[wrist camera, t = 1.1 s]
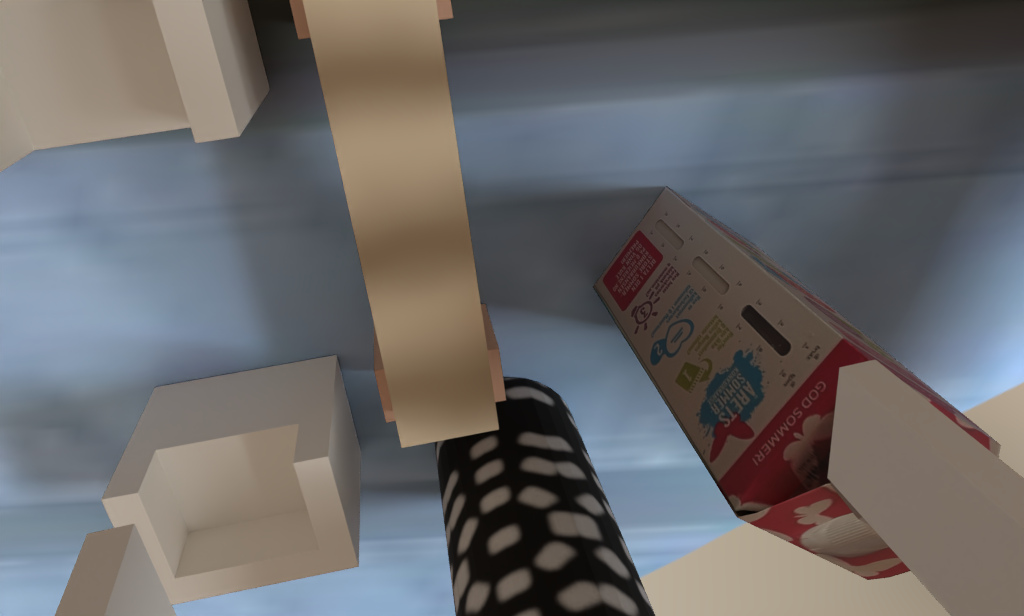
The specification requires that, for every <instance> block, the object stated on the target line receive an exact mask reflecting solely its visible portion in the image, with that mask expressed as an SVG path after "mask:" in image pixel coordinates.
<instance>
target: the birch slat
mask: <svg viewBox="0 0 1024 616" xmlns="http://www.w3.org/2000/svg"><path fill="white" fill-rule="evenodd" d="M303 5H304V9H305V14H306V19H307V23H308V28H309V32H310V37H311V41H312V46H313V50H314V55H315V59H316V64H317V68H318V73H319V77H320V82H321V86H322V91H323V95H324V100H325V104H326V109H327V113H328V118H329V122H330V127H331V131H332V136H333V140H334V145H335V150H336V154H337V159H338V163H339V168H340V172H341V177H342V181H343V186H344V190H345V195H346V199H347V204H348V208H349V213H350V217H351V222H352V226H353V231H354V235H355V240H356V244H357V249H358V253H359V258H360V262H361V267H362V271H363V276H364V281H365V285H366V290H367V294H368V299H369V303H370V308H371V312H372V317H373V321H374V326H375V330H376V335H377V339H378V344H379V348H380V353H381V357H382V362H383V366H384V371H385V375H386V380H387V384H388V389H389V393H390V398H391V402H392V407H393V412H394V416H395V421H396V425H397V430H398V434H399V439H400V443H401V448H405V447H410V446H415V445H421V444H426V443H431V442H436V441H442V440H447V439H452V438H457V437H462V436H468V435H473V434H478V433H483V432H489V431H494V430H499V425H498V418H497V412H496V405H495V398H494V391H493V384H492V378H491V371H490V364H489V357H488V350H487V344H486V337H485V330H484V323H483V316H482V310H481V303H480V296H479V289H478V282H477V276H476V269H475V262H474V255H473V249H472V242H471V235H470V228H469V221H468V215H467V208H466V201H465V194H464V187H463V181H462V174H461V167H460V160H459V153H458V147H457V140H456V133H455V126H454V119H453V113H452V106H451V99H450V92H449V85H448V79H447V72H446V65H445V58H444V51H443V45H442V38H441V31H440V24H439V17H438V11H437V4H436V0H303Z"/></svg>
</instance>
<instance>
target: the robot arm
mask: <svg viewBox="0 0 1024 616" xmlns="http://www.w3.org/2000/svg"><path fill="white" fill-rule="evenodd" d="M827 478H828V479H829V480H830V481H831V482H832V483H833V485H834V486H835V487H836V488H837V489H838V490H839V491H840V492H841V493H842V495H843V496H844V497H845V498H846V499H847V500H848V501H849V502H850V503H851V505H852V506H853V507H854V508H855V509H856V510H857V511H858V512H859V514H860V515H861V516H862V517H863V518H864V519H865V520H866V521H867V522H868V524H869V525H870V526H871V527H872V528H873V529H874V530H875V531H876V533H877V534H878V535H879V536H880V537H881V538H882V539H883V540H884V541H885V543H886V544H887V545H888V546H889V547H890V548H891V549H892V550H893V551H894V553H895V554H896V555H897V556H898V557H899V558H900V559H901V560H902V562H903V563H904V564H905V565H906V566H907V567H908V568H909V569H910V570H911V572H912V573H913V574H914V575H915V576H916V577H917V578H918V579H919V580H920V582H921V583H922V584H923V585H924V586H925V587H926V588H927V589H928V591H929V592H930V593H931V594H932V595H933V596H934V597H935V598H936V599H937V601H938V602H939V603H940V604H941V605H942V606H943V607H944V608H945V609H946V610H947V612H948V613H949V614H950V615H951V616H1024V478H1023V477H1022V476H1020V475H1019V474H1018V473H1016V472H1015V471H1014V470H1013V469H1011V468H1010V467H1009V466H1008V465H1006V464H1005V463H1004V462H1003V461H1002V460H1000V459H999V458H998V457H997V456H995V455H994V454H993V453H992V452H990V451H989V450H988V449H987V448H985V447H984V446H983V445H982V444H980V443H979V442H978V441H977V440H975V439H974V438H973V437H972V436H970V435H969V434H968V433H967V432H965V431H964V430H963V429H962V428H960V427H959V426H958V425H957V424H955V423H954V422H953V421H952V420H950V419H949V418H948V417H947V416H945V415H944V414H943V413H942V412H940V411H939V410H938V409H937V408H935V407H934V406H933V405H932V404H930V403H929V402H928V401H927V400H925V399H924V398H923V397H922V396H920V395H919V394H918V393H917V392H915V391H914V390H913V389H912V388H910V387H909V386H908V385H907V384H905V383H904V382H903V381H902V380H900V379H899V378H898V377H897V376H895V375H894V374H893V373H892V372H890V371H889V370H888V369H887V368H885V367H884V366H883V365H882V364H880V363H879V362H878V361H877V360H871V361H866V362H862V363H857V364H853V365H848V366H844V367H839V376H838V386H837V395H836V404H835V413H834V422H833V431H832V440H831V450H830V459H829V468H828V477H827ZM55 616H176V614H175V611H174V609H173V607H172V605H171V603H170V600H169V598H168V596H167V594H166V592H165V590H164V587H163V585H162V583H161V581H160V579H159V576H158V574H157V572H156V570H155V568H154V565H153V563H152V561H151V559H150V557H149V554H148V552H147V550H146V548H145V546H144V543H143V541H142V539H141V537H140V535H139V532H138V530H137V528H136V526H135V524H130V525H125V526H121V527H116V528H112V529H107V530H103V531H98V532H94V533H89V534H87V536H86V539H85V541H84V544H83V546H82V549H81V551H80V554H79V556H78V559H77V561H76V564H75V566H74V569H73V571H72V574H71V576H70V579H69V581H68V584H67V586H66V589H65V591H64V594H63V596H62V599H61V601H60V604H59V606H58V609H57V611H56V614H55Z"/></svg>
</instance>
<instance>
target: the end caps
mask: <svg viewBox="0 0 1024 616" xmlns="http://www.w3.org/2000/svg"><path fill="white" fill-rule="evenodd" d="M269 91H270V88H269V84H268V80H267V76H266V72H265V69H264V65H263V61H262V57H261V53H260V49H259V45H258V41H257V37H256V33H255V29H254V25H253V21H252V17H251V13H250V9H249V5H248V1H247V0H0V172H1V171H3V170H5V169H6V168H8V167H9V166H11V165H12V164H14V163H15V162H17V161H19V160H20V159H22V158H23V157H25V156H26V155H28V154H29V153H31V152H33V151H34V150H40V149H47V148H53V147H60V146H67V145H74V144H81V143H87V142H94V141H101V140H108V139H114V138H121V137H128V136H135V135H142V134H148V133H155V132H162V131H169V130H176V129H182V128H189V127H191V130H192V133H193V136H194V140H195V143H201V142H207V141H214V140H221V139H227V138H234V137H240V135H241V134H242V132H243V131H244V129H245V127H246V126H247V124H248V123H249V121H250V120H251V118H252V117H253V115H254V114H255V112H256V111H257V109H258V108H259V106H260V104H261V103H262V101H263V100H264V98H265V97H266V95H267V94H268V92H269ZM360 480H361V449H360V445H359V441H358V438H357V434H356V430H355V426H354V422H353V418H352V414H351V410H350V406H349V402H348V398H347V394H346V390H345V386H344V382H343V378H342V374H341V370H340V366H339V362H338V358H337V355H332V356H327V357H321V358H316V359H310V360H304V361H299V362H293V363H288V364H282V365H276V366H271V367H265V368H260V369H254V370H248V371H243V372H237V373H232V374H226V375H220V376H215V377H209V378H204V379H198V380H192V381H187V382H181V383H176V384H170V385H164V386H159V387H155V388H154V390H153V392H152V394H151V397H150V399H149V401H148V403H147V405H146V407H145V409H144V411H143V413H142V415H141V418H140V420H139V422H138V424H137V426H136V428H135V430H134V432H133V434H132V436H131V438H130V441H129V443H128V445H127V447H126V449H125V451H124V453H123V455H122V457H121V459H120V461H119V464H118V466H117V468H116V470H115V472H114V474H113V476H112V478H111V480H110V482H109V484H108V487H107V489H106V491H105V493H104V495H103V497H102V499H101V501H102V503H103V505H104V507H105V509H106V511H107V514H108V516H109V518H110V520H111V522H112V524H113V527H114V528H116V527H121V526H125V525H130V524H135V526H136V528H137V530H138V532H139V535H140V537H141V539H142V541H143V543H144V546H145V548H146V550H147V552H148V554H149V557H150V559H151V561H152V563H153V565H154V568H155V570H156V572H157V574H158V576H159V579H160V581H161V583H162V585H163V587H164V590H165V592H166V594H167V596H168V598H169V600H170V603H171V605H174V604H179V603H184V602H189V601H193V600H198V599H203V598H208V597H213V596H218V595H223V594H227V593H232V592H237V591H242V590H247V589H252V588H257V587H262V586H266V585H271V584H276V583H281V582H286V581H291V580H296V579H301V578H305V577H310V576H315V575H320V574H325V573H330V572H335V571H339V570H344V569H349V568H354V567H359V529H360Z"/></svg>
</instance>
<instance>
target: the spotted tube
mask: <svg viewBox="0 0 1024 616" xmlns="http://www.w3.org/2000/svg"><path fill="white" fill-rule="evenodd" d="M503 381H504V388H505V395H506V400H504V401H499V402H495V405H496V412H497V418H498V425H499V430H494V431H489V432H483V433H478V434H473V435H468V436H462V437H457V438H452V439H447V440H442V441H436V442H435V450H436V459H437V467H438V475H439V483H440V491H441V499H442V507H443V515H444V523H445V531H446V539H447V548H448V556H449V564H450V572H451V580H452V588H453V596H454V604H455V612H456V616H655V614H654V611H653V609H652V607H651V604H650V602H649V599H648V597H647V594H646V592H645V590H644V587H643V585H642V583H641V580H640V578H639V575H638V573H637V570H636V568H635V566H634V563H633V561H632V558H631V556H630V554H629V551H628V549H627V546H626V544H625V542H624V539H623V537H622V534H621V532H620V530H619V527H618V525H617V522H616V520H615V518H614V515H613V513H612V510H611V508H610V506H609V503H608V501H607V498H606V496H605V494H604V491H603V489H602V486H601V484H600V482H599V479H598V477H597V474H596V472H595V470H594V467H593V465H592V462H591V460H590V458H589V455H588V453H587V450H586V448H585V446H584V443H583V441H582V438H581V436H580V434H579V431H578V429H577V426H576V424H575V422H574V419H573V417H572V414H571V412H570V410H569V408H568V406H567V404H566V403H565V402H564V400H563V399H562V398H561V397H560V395H558V394H557V393H556V392H554V391H553V390H552V389H551V388H549V387H547V386H545V385H543V384H541V383H539V382H535V381H532V380H528V379H521V378H504V379H503Z"/></svg>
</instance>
